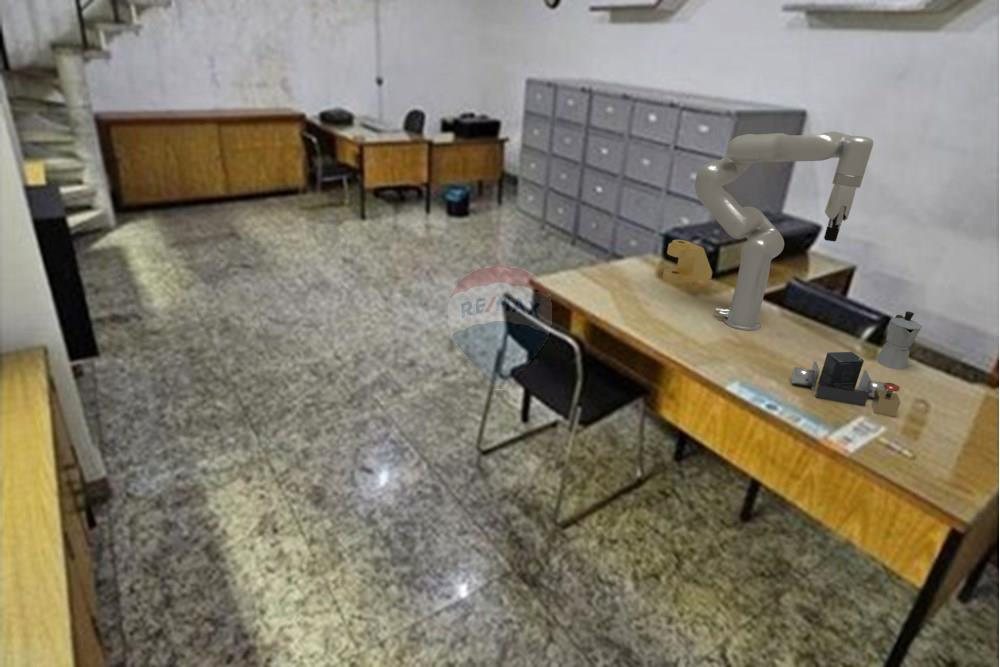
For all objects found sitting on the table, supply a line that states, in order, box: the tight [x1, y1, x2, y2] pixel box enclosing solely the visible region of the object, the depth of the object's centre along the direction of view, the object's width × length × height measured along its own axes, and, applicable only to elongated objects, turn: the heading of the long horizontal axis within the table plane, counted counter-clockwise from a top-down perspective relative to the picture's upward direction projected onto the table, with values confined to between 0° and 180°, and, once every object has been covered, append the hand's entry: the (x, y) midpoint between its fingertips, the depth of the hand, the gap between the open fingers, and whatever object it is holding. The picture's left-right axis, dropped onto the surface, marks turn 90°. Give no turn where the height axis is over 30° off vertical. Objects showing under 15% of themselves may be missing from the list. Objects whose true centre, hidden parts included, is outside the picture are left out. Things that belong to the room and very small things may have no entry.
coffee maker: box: [875, 311, 923, 371], centre depth 195 cm, size 15×9×18 cm, turn 163°
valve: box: [870, 382, 902, 418], centre depth 171 cm, size 5×5×8 cm
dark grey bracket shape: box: [790, 361, 888, 407], centre depth 178 cm, size 24×10×6 cm, turn 73°
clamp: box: [662, 239, 713, 285], centre depth 256 cm, size 20×9×16 cm, turn 116°
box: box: [817, 351, 865, 390], centre depth 180 cm, size 8×6×11 cm
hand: (829, 240), depth 194 cm, fingers closed
